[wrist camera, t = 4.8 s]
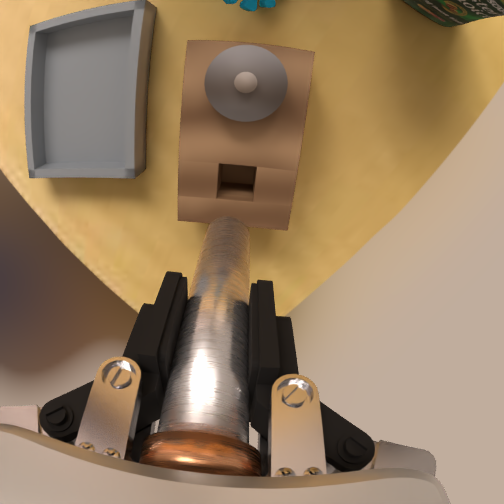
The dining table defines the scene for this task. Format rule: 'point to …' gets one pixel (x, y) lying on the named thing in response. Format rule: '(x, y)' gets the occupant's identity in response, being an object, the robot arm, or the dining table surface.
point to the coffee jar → (457, 10)
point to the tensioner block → (241, 131)
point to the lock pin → (210, 367)
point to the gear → (252, 4)
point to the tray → (89, 92)
